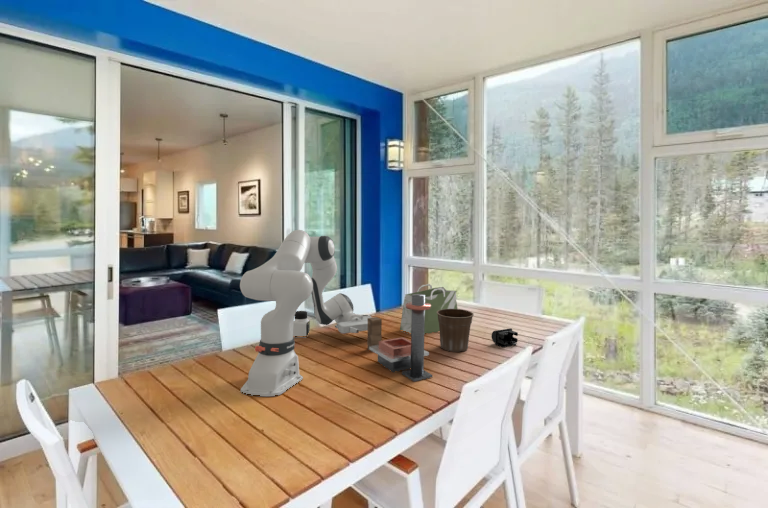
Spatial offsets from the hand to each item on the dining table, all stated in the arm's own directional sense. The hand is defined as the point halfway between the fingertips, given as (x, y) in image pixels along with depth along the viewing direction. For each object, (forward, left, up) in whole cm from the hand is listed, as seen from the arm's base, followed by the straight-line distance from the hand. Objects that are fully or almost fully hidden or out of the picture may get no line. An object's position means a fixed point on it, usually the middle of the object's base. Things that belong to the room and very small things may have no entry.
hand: (366, 329), depth 181 cm
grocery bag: (+35, -27, -8) cm, 45 cm away
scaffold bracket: (-24, -20, -7) cm, 32 cm away
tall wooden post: (-5, -5, -7) cm, 10 cm away
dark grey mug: (+16, -62, -8) cm, 65 cm away
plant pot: (+5, -39, -8) cm, 40 cm away
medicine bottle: (+9, +35, -8) cm, 37 cm away
